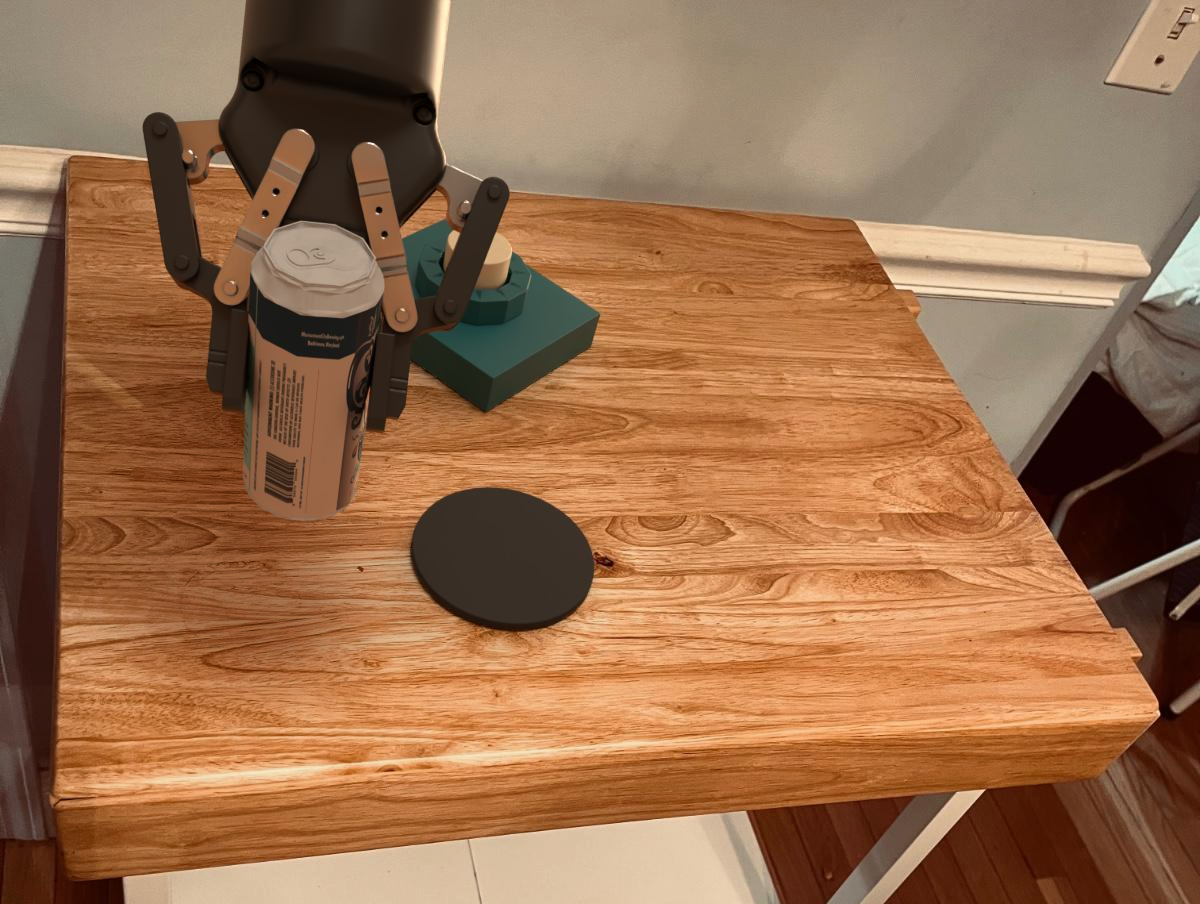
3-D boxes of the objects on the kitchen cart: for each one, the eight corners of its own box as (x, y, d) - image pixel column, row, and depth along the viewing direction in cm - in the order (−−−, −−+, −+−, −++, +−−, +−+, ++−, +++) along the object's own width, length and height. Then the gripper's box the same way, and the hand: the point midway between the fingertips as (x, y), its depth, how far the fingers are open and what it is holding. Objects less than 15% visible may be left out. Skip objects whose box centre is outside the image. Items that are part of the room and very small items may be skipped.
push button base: (331, 304, 76) (337, 243, 72) (446, 249, 83) (455, 191, 79) (485, 412, 72) (498, 354, 69) (591, 346, 79) (607, 290, 76)
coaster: (371, 551, 63) (372, 543, 62) (492, 469, 69) (494, 461, 69) (515, 662, 60) (517, 655, 60) (627, 566, 67) (629, 559, 66)
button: (429, 266, 74) (434, 238, 72) (471, 246, 76) (476, 218, 75) (478, 299, 73) (483, 271, 71) (518, 278, 75) (525, 250, 74)
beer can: (373, 516, 51) (408, 286, 43) (265, 539, 49) (279, 300, 40) (332, 442, 54) (357, 209, 45) (227, 461, 51) (232, 219, 43)
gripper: (139, -123, 40) (90, 386, 41) (555, -26, 43) (500, 442, 44) (168, -27, 47) (125, 402, 48) (522, 50, 50) (476, 450, 51)
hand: (305, 419), depth 46 cm, fingers closed on beer can, 4 cm apart
